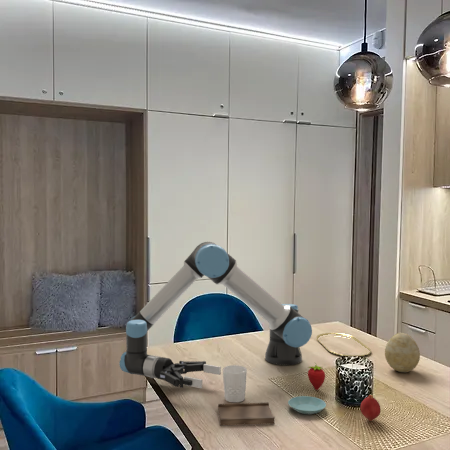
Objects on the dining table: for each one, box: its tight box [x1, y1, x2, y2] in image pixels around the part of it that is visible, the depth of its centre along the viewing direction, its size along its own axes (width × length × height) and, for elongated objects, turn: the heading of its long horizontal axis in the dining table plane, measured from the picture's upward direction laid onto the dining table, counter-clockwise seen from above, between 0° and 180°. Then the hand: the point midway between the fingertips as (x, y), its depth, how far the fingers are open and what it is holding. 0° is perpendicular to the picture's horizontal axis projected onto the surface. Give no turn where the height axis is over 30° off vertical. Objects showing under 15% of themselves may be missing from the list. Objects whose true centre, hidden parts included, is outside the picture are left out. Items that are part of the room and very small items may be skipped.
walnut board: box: [217, 401, 276, 426], centre depth 147 cm, size 16×11×2 cm
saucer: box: [287, 395, 327, 415], centre depth 152 cm, size 12×12×2 cm
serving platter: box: [315, 332, 372, 357], centre depth 219 cm, size 19×35×2 cm, turn 6°
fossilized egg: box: [384, 332, 421, 373], centre depth 186 cm, size 13×13×15 cm
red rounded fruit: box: [359, 394, 381, 422], centre depth 144 cm, size 6×6×8 cm
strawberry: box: [307, 363, 326, 391], centre depth 167 cm, size 6×8×10 cm
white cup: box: [222, 364, 248, 403], centre depth 160 cm, size 8×8×10 cm
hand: (211, 377), depth 164 cm, fingers open, 13 cm apart
